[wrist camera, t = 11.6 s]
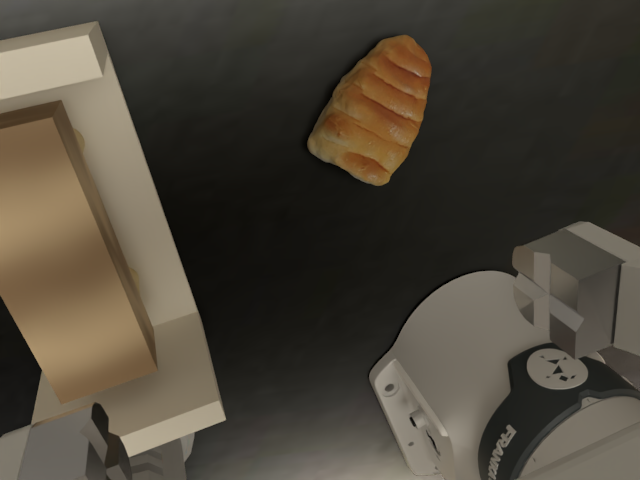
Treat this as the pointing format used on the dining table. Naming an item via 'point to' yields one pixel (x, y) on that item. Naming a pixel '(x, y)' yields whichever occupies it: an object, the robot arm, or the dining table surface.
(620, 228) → the dining table surface
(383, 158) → the pastry
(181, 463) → the french press
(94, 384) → the shelf board
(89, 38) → the peg frame
